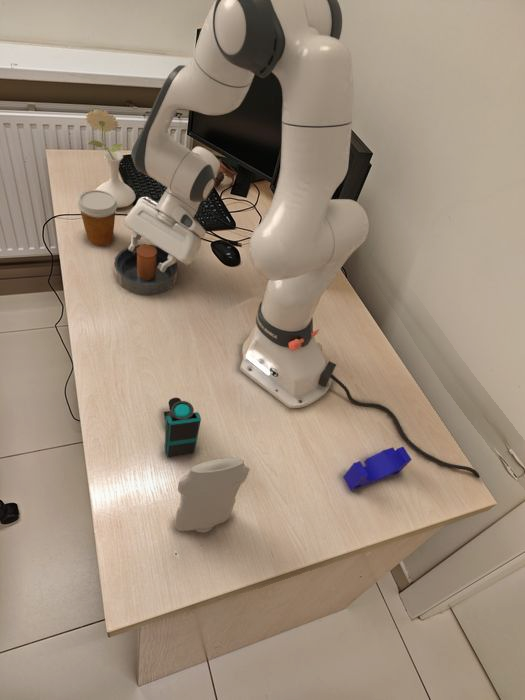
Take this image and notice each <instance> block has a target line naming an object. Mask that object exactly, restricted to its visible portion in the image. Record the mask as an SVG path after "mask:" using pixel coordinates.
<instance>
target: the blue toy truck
mask: <svg viewBox="0 0 525 700" xmlns="http://www.w3.org/2000/svg"><path fill="white" fill-rule="evenodd" d="M412 460H413V459H412V458H411V456H410V454H409V453H408V451H407V450H406V449H405V446H400V447H397V448H396V449H395V447H394V446H392V447H390V448H387V449H384V450H381V451H380V452H378V453H376V454H374V455H372V456H370V457H366V459H365V460H364V461H363V463H364V464H365V466H364V465H363V463H362V461H361V460H359V461H356V462H352V465H351V466H350V467H349V468H348V470H347V472H346V473H344V475H343V479H344V482H345V483H346V485H347V486H348V488H349V490H350V491H354V490H356V489H359V488H361V487H365V486H368V485H370V484H374V483H377V482H379V481H381V480H384V479H387V478H389V477H393V476H395V475H397V474H400V473H401V471H402V470H404V468H406V467H407V465H409V463H410V462H411V461H412Z"/></svg>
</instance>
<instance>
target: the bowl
mask: <svg viewBox="0 0 525 700" xmlns="http://www.w3.org/2000/svg"><path fill="white" fill-rule="evenodd" d="M141 245H148V244H144V243H142V244H141V243H140V244H137V247H139V246H141ZM150 245H151V246H153V247H155V248H156V250H157V255H156V276H155V278H154V279H152V280H142V279H140V278H139V277H138V275H137V253H136V254H134V253H132V252H131V251H129V250H128V248H129V246H127V247H125V248H123V249H122V250H120V251H119V252H118V253H117V255H116V256H115V258H114V265H113V266H114V267H113V268H114V276H115V280H116V282H117V283H118V284H119V286H120V287H122V288H123V289H124V290H126V291H128V292H129V293H133V294H137V295H139V296H140V295H141V296H154V295H155V296H156V295H160V294H162V293H165V292H168V291H169V290H171V289H172V288H173V287H174V286H175V284H176V283H177V280H178V267H179V263H178V260H177V261H176V262H175V263H174V264H172V265H171V266H169V267H167V269H166V270H165V272H164V273H163V272H161V271H160V270H158V269H157V266H159V263H160V262H161V263H162V264H163V263H164V262H166V261H167V260H169V259H167V257H168V255H169V254H168V253H167V252H165V251H164V250H162V249H161V248H159V247H158V246H156V245H154V244H150Z"/></svg>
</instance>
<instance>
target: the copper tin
mask: <svg viewBox="0 0 525 700" xmlns="http://www.w3.org/2000/svg"><path fill="white" fill-rule="evenodd" d="M140 245H141V244H140ZM151 245H152V244H147V245H141V246H139V247H138V248H137V275H138V277H139V278H140V279H142V280H152V279H154V278H155V276H156V255H157V250H156V248H155V247H153V246H151Z"/></svg>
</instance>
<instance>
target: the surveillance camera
mask: <svg viewBox="0 0 525 700" xmlns="http://www.w3.org/2000/svg"><path fill="white" fill-rule="evenodd" d="M168 407H169V410H168V411H163V415H164V437H165V438H164V453H165V454H164V455H165V456H166V457H167V458H175V457H181V456H188V455H193V454H194V453H195V452H196V447H197V442H198V437H199V431H200V426H201V421H202V418H201V414H200V413H199V412H198V411H195V410H194V406H193V405H192V403H190V402H189V401H186V400H182V399H181V398H180V397H172V398H170V399H169V400H168Z"/></svg>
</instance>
